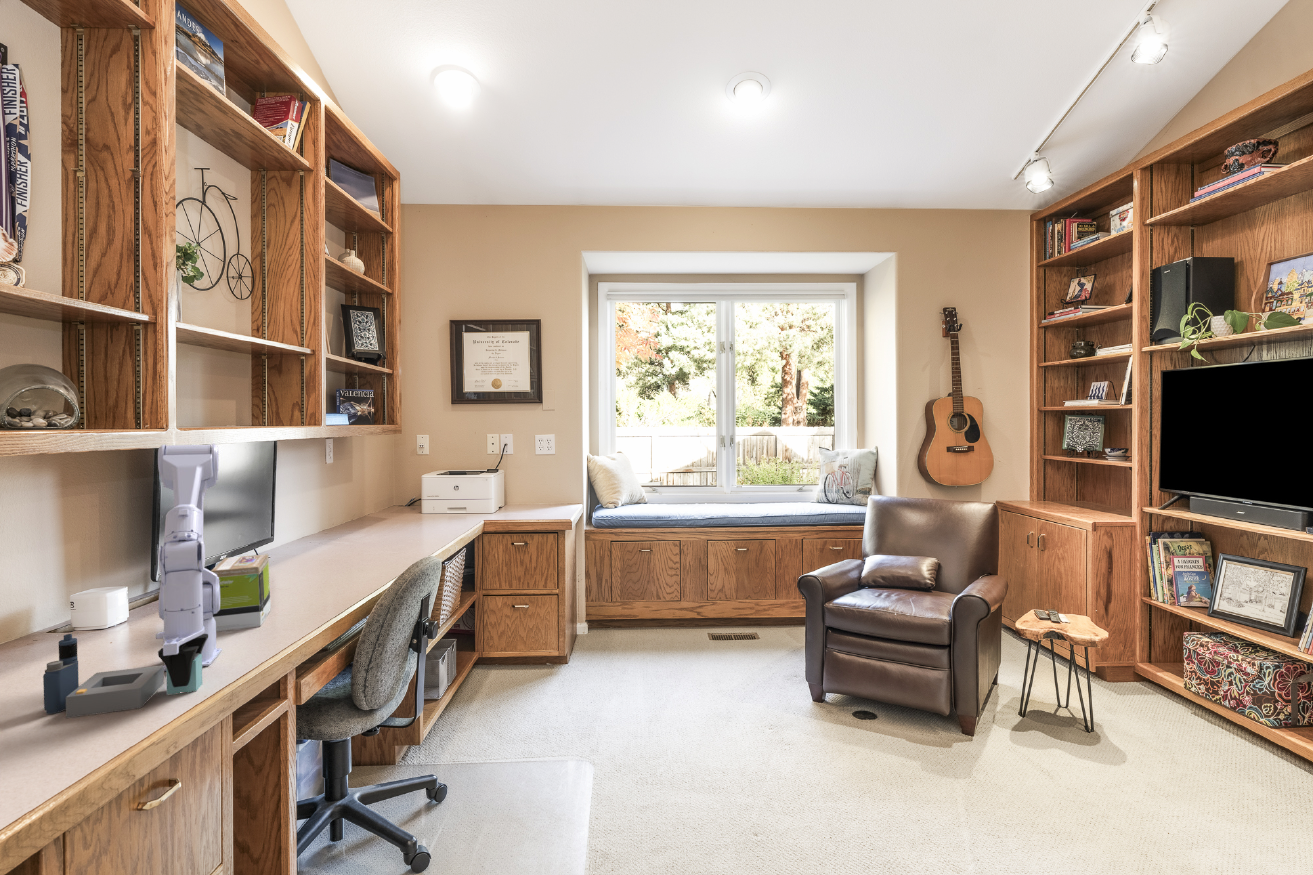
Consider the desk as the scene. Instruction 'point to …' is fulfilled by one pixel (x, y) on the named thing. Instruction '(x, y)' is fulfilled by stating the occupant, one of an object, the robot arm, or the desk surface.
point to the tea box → (242, 592)
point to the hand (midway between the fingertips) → (184, 681)
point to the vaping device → (61, 676)
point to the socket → (115, 691)
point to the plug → (194, 678)
